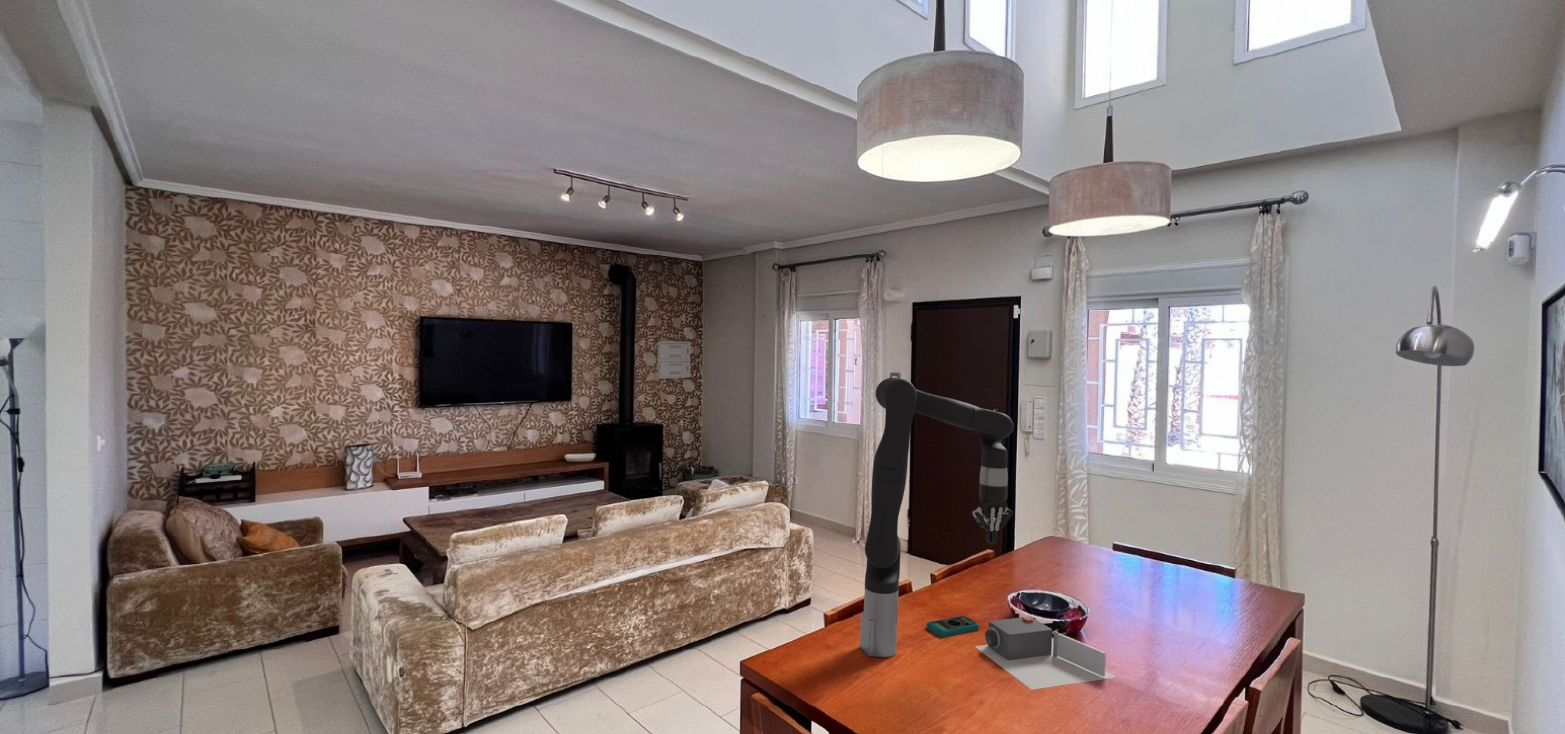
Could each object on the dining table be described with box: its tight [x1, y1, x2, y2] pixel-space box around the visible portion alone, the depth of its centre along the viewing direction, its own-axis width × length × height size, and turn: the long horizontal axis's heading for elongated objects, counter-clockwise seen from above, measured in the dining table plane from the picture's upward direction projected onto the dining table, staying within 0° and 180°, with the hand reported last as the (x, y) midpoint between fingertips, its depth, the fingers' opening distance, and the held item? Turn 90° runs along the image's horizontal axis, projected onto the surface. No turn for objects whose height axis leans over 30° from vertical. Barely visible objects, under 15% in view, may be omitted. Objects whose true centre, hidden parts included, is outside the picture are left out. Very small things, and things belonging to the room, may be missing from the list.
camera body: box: [984, 616, 1053, 660], centre depth 177 cm, size 16×9×8 cm, turn 107°
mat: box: [974, 637, 1116, 691], centre depth 172 cm, size 26×24×1 cm
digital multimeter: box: [926, 615, 980, 638], centre depth 191 cm, size 7×15×3 cm, turn 115°
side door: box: [1052, 630, 1107, 676], centre depth 169 cm, size 14×2×6 cm, turn 33°
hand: (991, 543), depth 181 cm, fingers closed
